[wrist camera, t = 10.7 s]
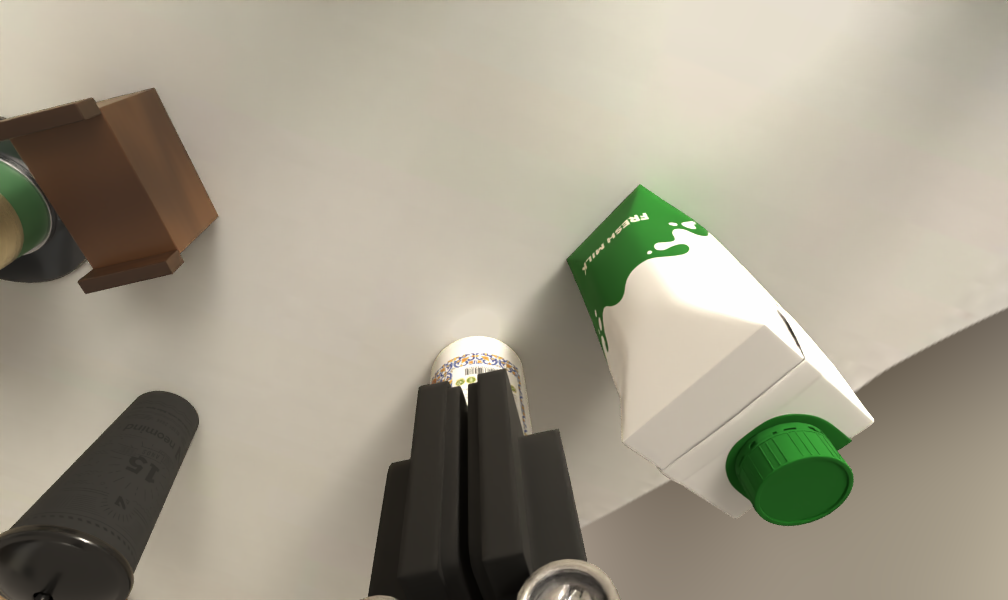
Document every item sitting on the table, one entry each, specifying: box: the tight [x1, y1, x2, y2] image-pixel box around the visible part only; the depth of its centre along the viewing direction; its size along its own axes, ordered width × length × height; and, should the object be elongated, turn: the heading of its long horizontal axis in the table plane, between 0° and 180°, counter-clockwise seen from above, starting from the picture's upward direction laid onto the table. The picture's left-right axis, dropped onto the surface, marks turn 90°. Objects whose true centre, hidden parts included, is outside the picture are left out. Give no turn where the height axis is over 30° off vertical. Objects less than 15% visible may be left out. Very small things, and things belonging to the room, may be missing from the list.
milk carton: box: [567, 185, 874, 526], centre depth 31 cm, size 9×9×20 cm
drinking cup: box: [0, 391, 199, 600], centre depth 35 cm, size 8×8×20 cm
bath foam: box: [430, 336, 533, 436], centre depth 35 cm, size 7×7×20 cm
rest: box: [0, 88, 218, 294], centre depth 32 cm, size 9×5×7 cm, turn 12°
